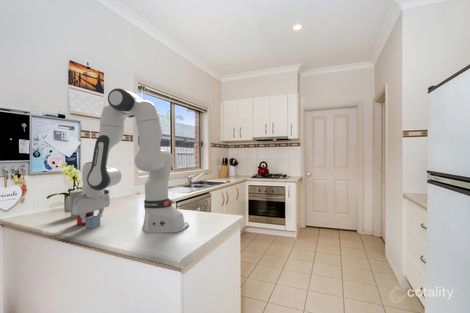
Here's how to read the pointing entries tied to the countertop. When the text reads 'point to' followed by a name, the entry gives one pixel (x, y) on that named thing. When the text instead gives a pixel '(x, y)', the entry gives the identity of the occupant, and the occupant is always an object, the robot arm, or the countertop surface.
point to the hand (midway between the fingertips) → (92, 219)
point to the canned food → (79, 220)
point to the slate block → (93, 222)
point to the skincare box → (72, 197)
